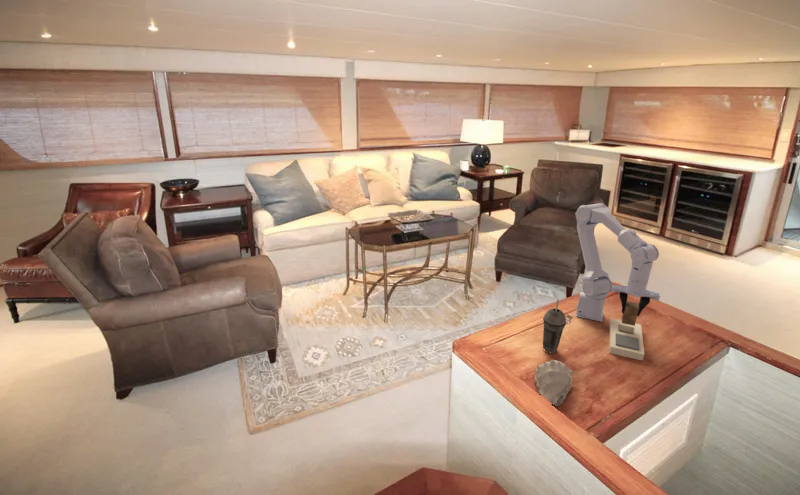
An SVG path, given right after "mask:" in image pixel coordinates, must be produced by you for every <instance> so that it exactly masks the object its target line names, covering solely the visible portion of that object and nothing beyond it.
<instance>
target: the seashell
mask: <svg viewBox="0 0 800 495" xmlns="http://www.w3.org/2000/svg"><path fill="white" fill-rule="evenodd" d="M534 372H535V373H534V382H535V385H536V388H537V391H538V393H539V395H540V394H541V395H543V396H544V397H545V398H546V399H547V400H548V401H550V402H551V403H552V404H553V405H552V406H554V405H555V406H554V407H559V406H561V405H562V404H563V403H564V401H565V400H566V397H567V396H568V393H569V392H570V390H571V389H572V387H573V376H572V375H573V372H574V371H573V370H572V369H570V368H569V366H567V365H566V363H564V362H562V361H560V360H556V359H551V360H550V361H546V362H544V363H542V364H537V365H536V369H534ZM541 395H540V396H541Z"/></svg>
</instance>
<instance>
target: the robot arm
mask: <svg viewBox="0 0 800 495" xmlns="http://www.w3.org/2000/svg"><path fill="white" fill-rule="evenodd" d="M574 214H575V219H576V230H577V234H578V238H579V239H578V240H579V244H580V248H581V253H582V258H583V262H584V266H585V270H586V273H585V274H584V276H582V291H579V292H580V293H579V295H578V296H579V297H578V301H577V302H578V303H577V304H576V307H575V309H576V314H575V316H576V317H578V318H583V319H588V320H593V321H597V322H603V320H604V308H605V303H606V298H607V296H608V294H609V293H610V292H611V293H619V299H620V303H621V313H622V314H623V313H624V311H625V305H626V302H627V301H628V295H631V296H632V297H636V298H639V302H638V304H639V311H638V315H637V317H640V314H641V313H642V311H643V310H644V309H645V308H646V307H647V306H648V305H649V304H650V303H651V300H654V301H657V302H659V301H660V298H661V294H660V293H659V292H655V291H651V290H648V289H647V287H648V282H649V280H650V276H651V273H652V272H651V271H652V268H653V264H654V262H655V261H657V259H658V258H659V255H660V253H659V249H658V248H657V247H656V245H654V244H651V243H648V242H646V241H645V240H643V239H642V238H641V237H640V236H639V235H637V232H636V231H635V230H632V229H626V228H625V227H624V225H622V224H621V223H620V221H618V219H616V217H615V215H613V213H611V210H610V208H609V207H608V206H607V205H606V204H605V203H603V202H599V203H592V204H587V205H586V204H582V205H580V206H579V207H577V210H576V211H575V213H574ZM598 224H602V225H604V226H605V228H607V229H608V230H610V231H611V232H612V233H613V234H614V235H616V237H617V242H618V243H619V244H620V245H621V246H623V248H624V249H625V250H626V251H628V252H629V254H630V258H631V268H630V273H629V277H628V282H627V285H615V284H613V282H612V280H611V279H610V277H609V273H608V272H606V271H604V269H603V267H602V262H601V258H600V253H599V249H598V245H597V240H596V237H595V231H594V229H595V228H596V226H597V225H598Z"/></svg>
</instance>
